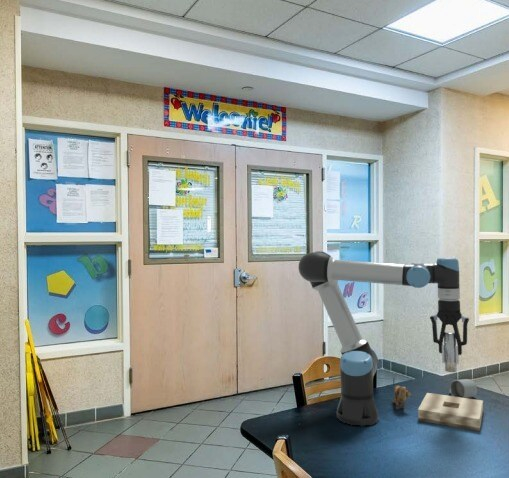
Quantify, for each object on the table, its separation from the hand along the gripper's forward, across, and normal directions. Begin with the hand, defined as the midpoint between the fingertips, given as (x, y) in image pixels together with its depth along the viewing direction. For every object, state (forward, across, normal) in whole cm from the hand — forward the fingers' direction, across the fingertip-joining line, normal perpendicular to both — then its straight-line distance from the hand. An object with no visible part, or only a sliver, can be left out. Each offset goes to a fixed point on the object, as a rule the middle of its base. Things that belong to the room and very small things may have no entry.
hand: (450, 362), depth 167 cm
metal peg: (+3, 0, 0) cm, 3 cm away
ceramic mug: (+20, +1, +23) cm, 31 cm away
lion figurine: (+20, -19, +2) cm, 28 cm away
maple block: (+20, 0, 0) cm, 20 cm away
